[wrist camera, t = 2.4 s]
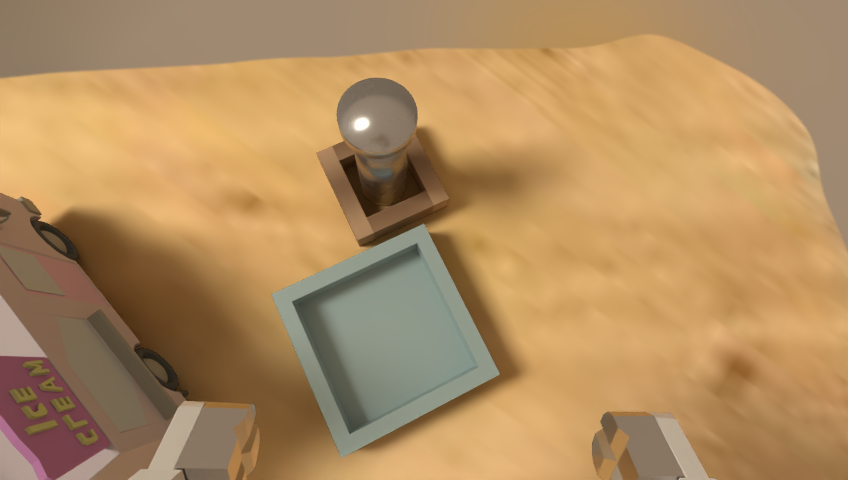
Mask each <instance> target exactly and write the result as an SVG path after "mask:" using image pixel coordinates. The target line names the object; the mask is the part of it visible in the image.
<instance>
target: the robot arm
mask: <svg viewBox="0 0 848 480" xmlns="http://www.w3.org/2000/svg"><path fill="white" fill-rule="evenodd" d="M255 416H256V410H255V406H254V404H244V403H224V402H204V401H184V402H183V403H182V404H181V405H180V406H179V407H178V409H177V411H176V413H175V415H174V417H173V419H172V421H171V423H170V425H169V427H168V429H167V431H166V433H165V435H164V437H163V439H162V441H161V443H160V445H159V447H158V449H157V452H156V454H155V456H154V458H153V460H152V462H151V464H150V466H149V468H148V469H140V470H139V471H138V472H136V473H135V474H134V475H133V476H131V477H130V478H129V479H128V480H247V478H246V476H247V475H248V474H250V473H251V472H252V471H253V470H254V468H255V464H256V461H257V457H258V451H259V444H260V432H259V426H258V425H256V424H255V423H254V419H255ZM600 422H601V424H602V427H603V429H601V430H600V431H598V432H597V433H596V434H595V436H594V439H593V442H592V457H593V463H594V466H595V469H596V472H597V475H598V476H599V477H600V478H601V479H602V480H717V479H716V478H709V477H708V475H707V473H706V471H705V470H704V468H703V466H702V464H701V462H700V461H699V459H698V457H697V455H696V454H695V452H694V450H693V448H692V446H691V445H690V443H689V441H688V439H687V438H686V436H685V434H684V432H683V430H682V429H681V427H680V425H679V423H678V422H677V420H676V418H675V417H674V416H673V415H672V414H671V413H647V412H606V413H605V414H603V417H602V419H601V421H600Z"/></svg>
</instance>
